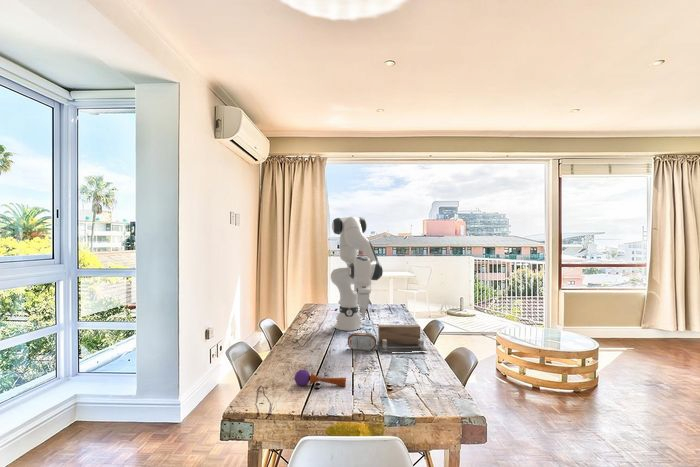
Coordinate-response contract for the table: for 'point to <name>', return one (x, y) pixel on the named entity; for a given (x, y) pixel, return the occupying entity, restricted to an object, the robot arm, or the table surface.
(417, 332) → the cabinet
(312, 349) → the table surface
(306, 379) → the kendama
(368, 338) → the tin
